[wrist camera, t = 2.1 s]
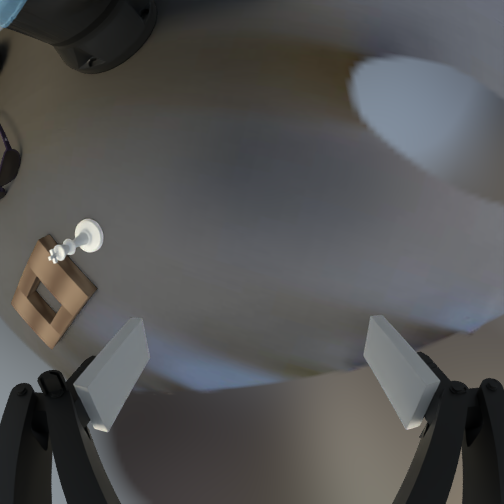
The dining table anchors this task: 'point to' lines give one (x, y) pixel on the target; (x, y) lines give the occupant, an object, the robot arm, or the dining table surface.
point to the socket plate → (59, 284)
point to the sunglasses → (8, 164)
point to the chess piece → (79, 240)
